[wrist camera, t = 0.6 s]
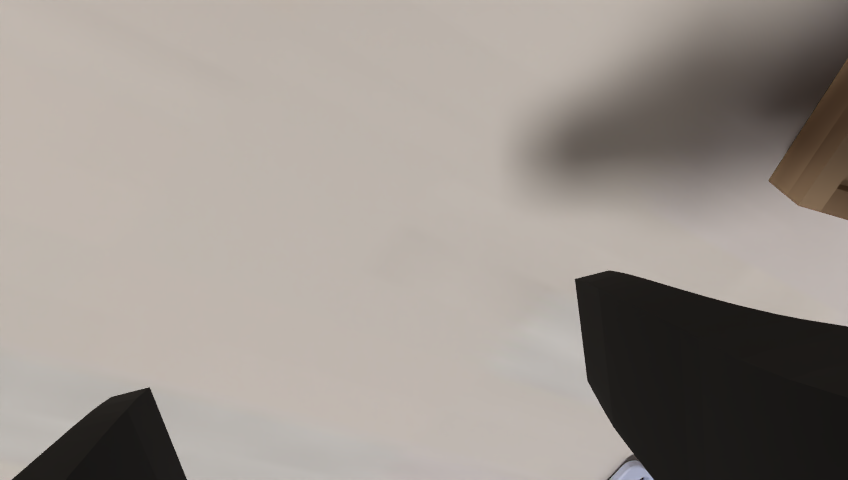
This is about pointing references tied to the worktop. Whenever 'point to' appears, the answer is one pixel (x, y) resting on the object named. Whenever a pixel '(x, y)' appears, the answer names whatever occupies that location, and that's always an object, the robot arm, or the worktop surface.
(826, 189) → the beam
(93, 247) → the worktop surface
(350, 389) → the worktop surface
